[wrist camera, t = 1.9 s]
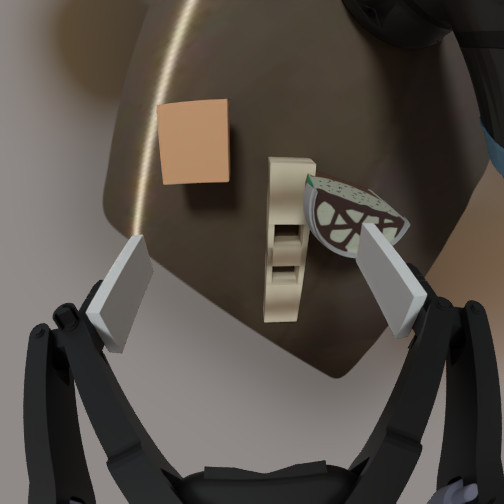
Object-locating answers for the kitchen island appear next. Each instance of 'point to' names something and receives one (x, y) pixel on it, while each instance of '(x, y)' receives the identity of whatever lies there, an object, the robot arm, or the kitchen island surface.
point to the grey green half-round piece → (347, 214)
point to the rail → (285, 237)
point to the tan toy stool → (194, 141)
